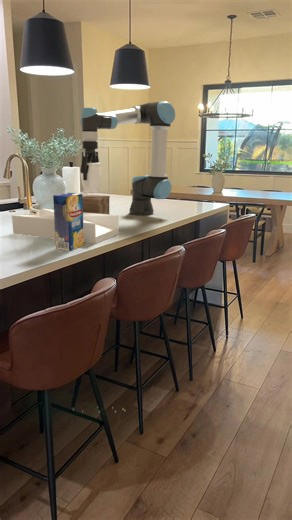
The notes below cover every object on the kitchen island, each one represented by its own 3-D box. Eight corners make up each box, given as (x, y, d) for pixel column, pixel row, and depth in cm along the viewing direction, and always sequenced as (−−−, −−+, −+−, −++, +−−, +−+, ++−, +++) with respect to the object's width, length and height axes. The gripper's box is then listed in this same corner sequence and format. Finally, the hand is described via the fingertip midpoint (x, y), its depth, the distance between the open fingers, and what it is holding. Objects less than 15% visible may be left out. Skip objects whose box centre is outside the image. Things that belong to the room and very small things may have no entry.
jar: (81, 191, 215) (80, 161, 211) (101, 191, 216) (101, 162, 212) (80, 193, 205) (79, 162, 201) (101, 193, 206) (100, 163, 202)
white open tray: (118, 234, 198) (118, 215, 195) (95, 244, 178) (95, 223, 176) (42, 226, 215) (40, 208, 212) (13, 234, 195) (11, 215, 193)
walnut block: (85, 222, 224) (85, 194, 220) (110, 224, 220) (109, 196, 216) (73, 227, 211) (72, 197, 207) (98, 229, 207) (98, 199, 203)
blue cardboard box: (83, 245, 176) (82, 193, 170) (69, 251, 166) (67, 196, 160) (70, 243, 178) (68, 192, 172) (55, 249, 168) (53, 195, 162)
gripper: (93, 140, 215) (94, 183, 221) (72, 140, 194) (73, 187, 200) (106, 141, 213) (106, 184, 219) (86, 140, 192) (87, 188, 198)
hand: (91, 185), depth 210 cm, fingers closed on jar, 10 cm apart
